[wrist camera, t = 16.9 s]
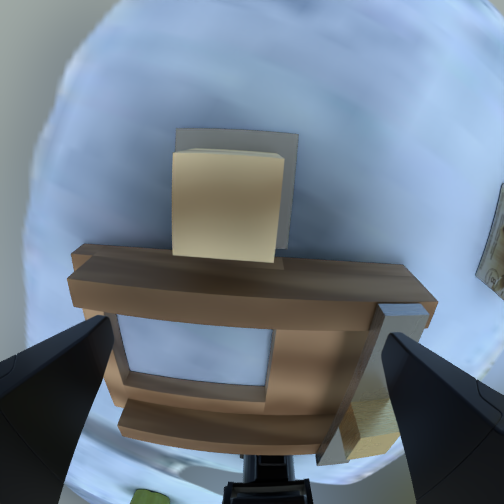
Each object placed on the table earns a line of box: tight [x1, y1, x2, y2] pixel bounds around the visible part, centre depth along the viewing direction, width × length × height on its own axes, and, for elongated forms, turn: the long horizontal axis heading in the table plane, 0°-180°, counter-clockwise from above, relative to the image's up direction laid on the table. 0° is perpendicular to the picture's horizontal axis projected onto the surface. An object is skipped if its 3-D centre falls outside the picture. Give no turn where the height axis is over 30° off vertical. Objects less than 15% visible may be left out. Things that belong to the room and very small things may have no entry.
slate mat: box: [175, 128, 299, 249], centre depth 18 cm, size 8×8×1 cm
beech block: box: [172, 148, 285, 263], centre depth 16 cm, size 5×5×5 cm
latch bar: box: [315, 304, 430, 466], centre depth 16 cm, size 17×3×4 cm, turn 176°
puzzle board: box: [67, 244, 438, 455], centre depth 21 cm, size 17×24×6 cm
